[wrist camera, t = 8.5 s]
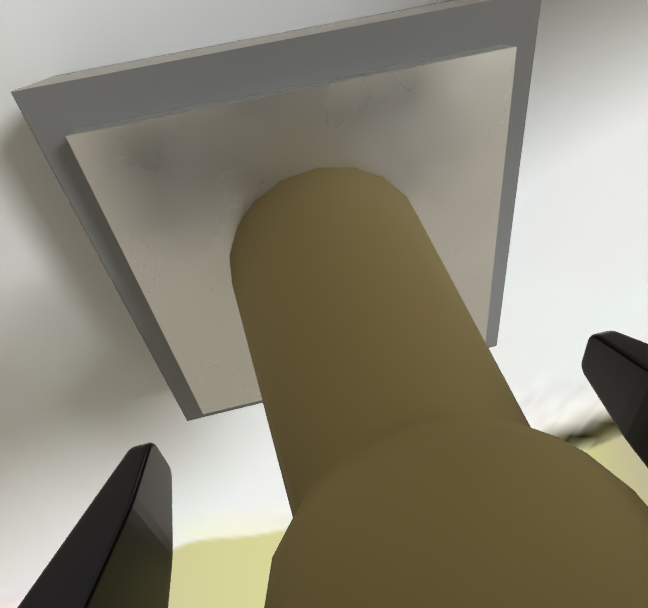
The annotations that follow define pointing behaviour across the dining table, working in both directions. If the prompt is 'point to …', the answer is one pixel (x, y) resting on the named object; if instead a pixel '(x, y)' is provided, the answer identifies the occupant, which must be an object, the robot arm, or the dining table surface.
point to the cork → (409, 424)
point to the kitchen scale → (288, 161)
